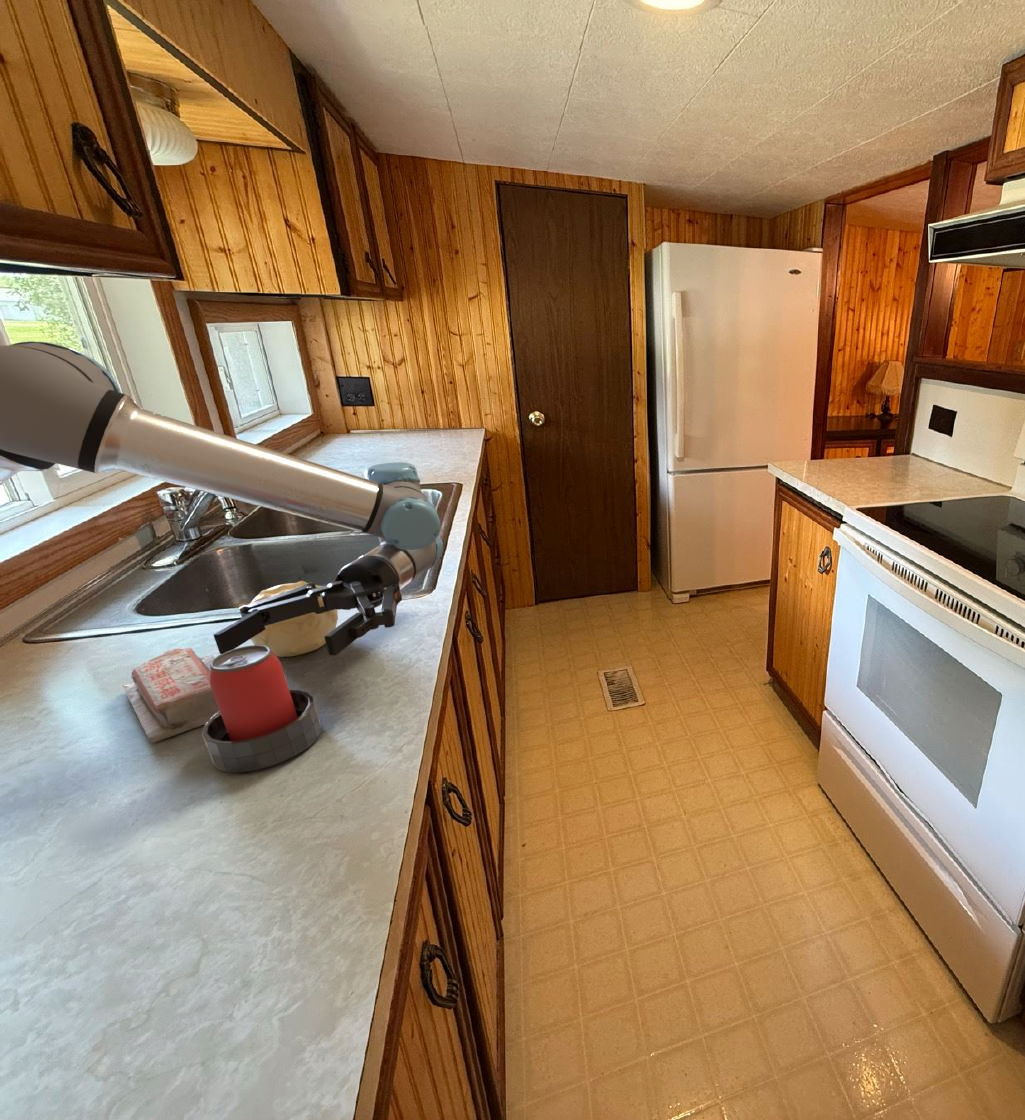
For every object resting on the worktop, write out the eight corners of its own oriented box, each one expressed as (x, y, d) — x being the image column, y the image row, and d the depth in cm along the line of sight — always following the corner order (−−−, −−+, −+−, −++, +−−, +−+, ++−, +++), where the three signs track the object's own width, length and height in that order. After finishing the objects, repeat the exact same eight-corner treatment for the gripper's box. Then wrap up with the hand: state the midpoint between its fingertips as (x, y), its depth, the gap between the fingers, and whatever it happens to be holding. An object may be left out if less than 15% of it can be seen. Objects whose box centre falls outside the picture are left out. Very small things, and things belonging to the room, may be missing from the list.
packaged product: (241, 678, 78) (137, 713, 71) (252, 709, 80) (151, 747, 73) (205, 635, 89) (111, 662, 82) (215, 663, 91) (124, 692, 83)
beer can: (222, 752, 71) (189, 664, 67) (279, 720, 77) (252, 638, 73) (259, 766, 69) (227, 677, 65) (315, 732, 75) (289, 648, 71)
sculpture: (267, 674, 88) (245, 608, 84) (246, 646, 95) (225, 584, 91) (354, 645, 96) (338, 584, 92) (328, 622, 103) (313, 564, 99)
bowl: (189, 775, 68) (176, 743, 67) (260, 718, 78) (250, 689, 77) (282, 776, 68) (271, 744, 67) (341, 719, 78) (332, 690, 77)
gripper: (458, 600, 95) (382, 673, 75) (301, 598, 95) (183, 670, 75) (451, 556, 92) (369, 619, 72) (289, 554, 92) (163, 616, 72)
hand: (274, 645), depth 74 cm, fingers open, 13 cm apart
